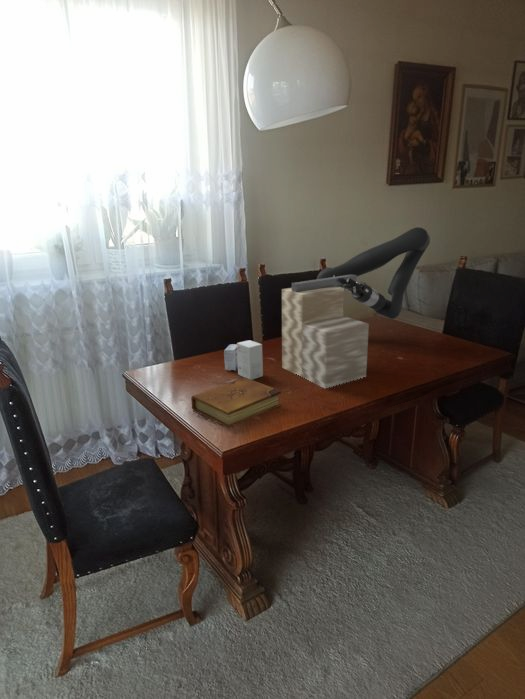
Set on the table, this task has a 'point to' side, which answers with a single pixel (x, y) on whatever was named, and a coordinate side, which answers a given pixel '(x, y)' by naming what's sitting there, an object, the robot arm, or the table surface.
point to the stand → (322, 337)
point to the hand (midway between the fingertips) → (340, 278)
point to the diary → (236, 401)
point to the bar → (322, 283)
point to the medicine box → (231, 357)
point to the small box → (250, 359)
